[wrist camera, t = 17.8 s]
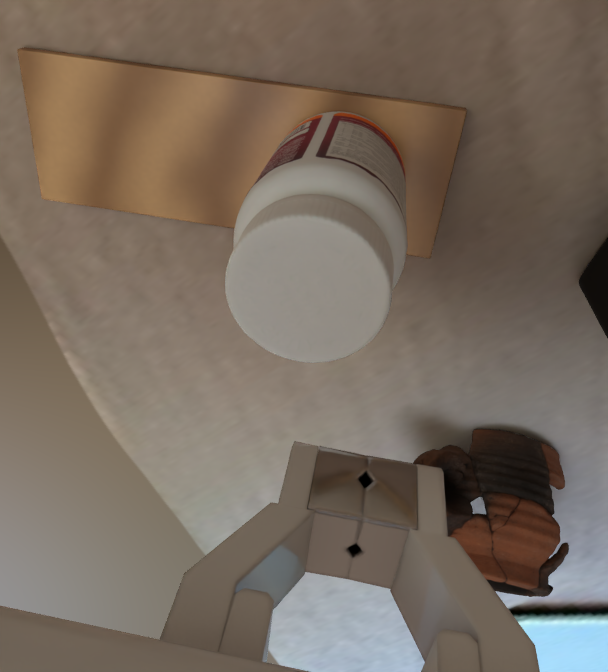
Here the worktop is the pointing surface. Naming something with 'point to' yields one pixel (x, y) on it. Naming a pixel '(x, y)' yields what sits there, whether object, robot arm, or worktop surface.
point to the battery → (597, 285)
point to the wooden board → (206, 138)
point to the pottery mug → (504, 507)
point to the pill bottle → (320, 240)
